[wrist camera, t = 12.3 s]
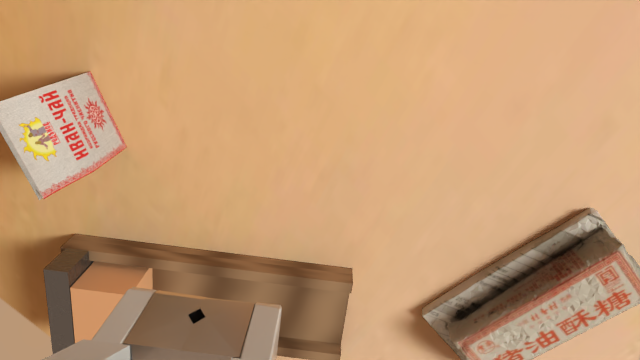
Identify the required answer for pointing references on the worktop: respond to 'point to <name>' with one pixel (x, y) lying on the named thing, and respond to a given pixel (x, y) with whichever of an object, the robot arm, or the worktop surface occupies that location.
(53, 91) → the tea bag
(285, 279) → the track
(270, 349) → the robot arm
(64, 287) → the end stop
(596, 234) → the packaged product
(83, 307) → the orange block
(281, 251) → the worktop surface
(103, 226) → the worktop surface
